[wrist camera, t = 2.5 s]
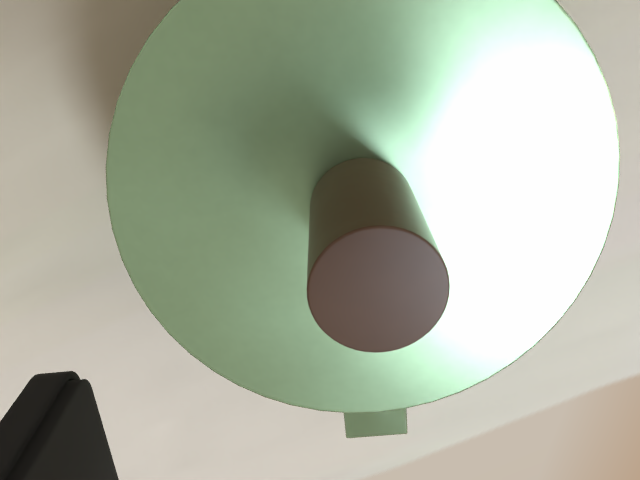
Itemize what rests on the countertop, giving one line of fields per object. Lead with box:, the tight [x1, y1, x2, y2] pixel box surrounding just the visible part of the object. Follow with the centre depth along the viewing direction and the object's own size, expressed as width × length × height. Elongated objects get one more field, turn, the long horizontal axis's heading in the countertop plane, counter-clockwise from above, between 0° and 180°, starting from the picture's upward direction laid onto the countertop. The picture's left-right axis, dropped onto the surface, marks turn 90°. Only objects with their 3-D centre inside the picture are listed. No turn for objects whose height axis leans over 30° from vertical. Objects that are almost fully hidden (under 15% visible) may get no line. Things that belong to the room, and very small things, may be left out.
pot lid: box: [106, 0, 620, 413], centre depth 16 cm, size 16×16×7 cm
